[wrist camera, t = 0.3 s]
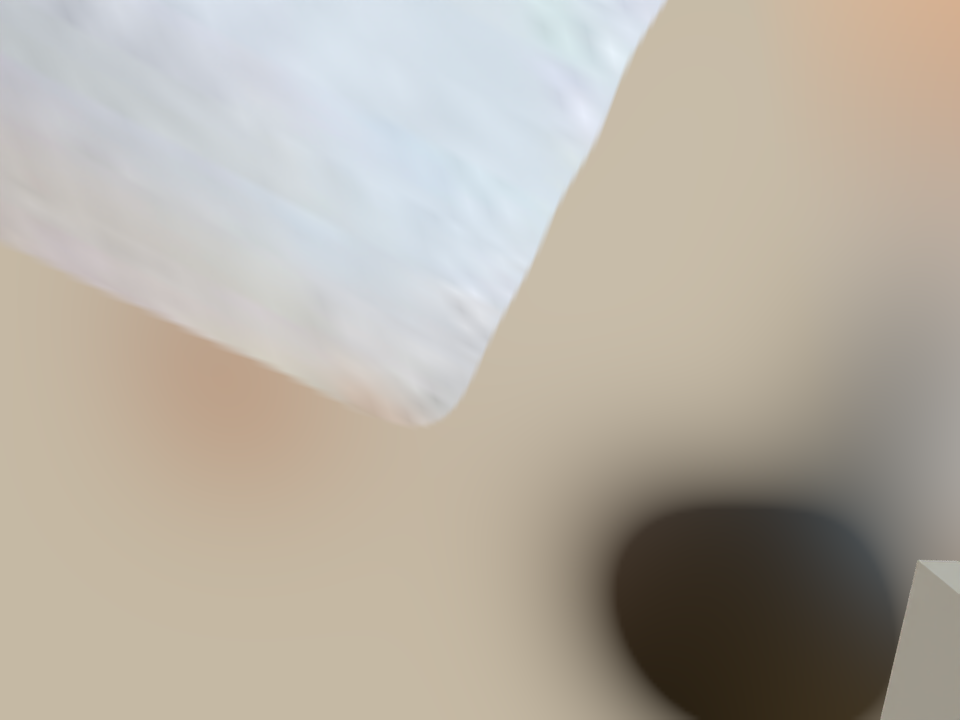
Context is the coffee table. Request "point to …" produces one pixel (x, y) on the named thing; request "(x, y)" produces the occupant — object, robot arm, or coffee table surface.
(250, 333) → the coffee table surface
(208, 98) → the coffee table surface
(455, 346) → the coffee table surface
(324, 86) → the coffee table surface
